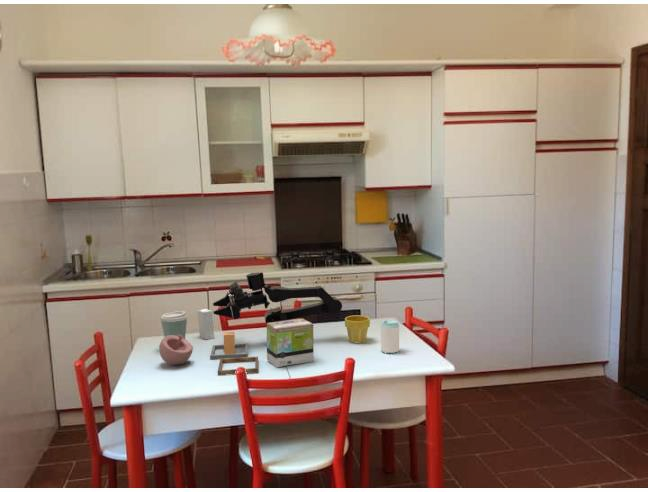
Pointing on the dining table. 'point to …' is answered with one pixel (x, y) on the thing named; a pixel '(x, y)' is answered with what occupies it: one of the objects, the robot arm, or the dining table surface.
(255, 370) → the frame
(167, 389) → the dining table surface
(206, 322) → the skincare box
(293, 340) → the tea box
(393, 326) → the can
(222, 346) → the gray square frame
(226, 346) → the plug block
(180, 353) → the mortar and pestle
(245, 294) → the robot arm
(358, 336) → the plant pot
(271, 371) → the dining table surface
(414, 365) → the dining table surface
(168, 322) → the disposable coffee cup
